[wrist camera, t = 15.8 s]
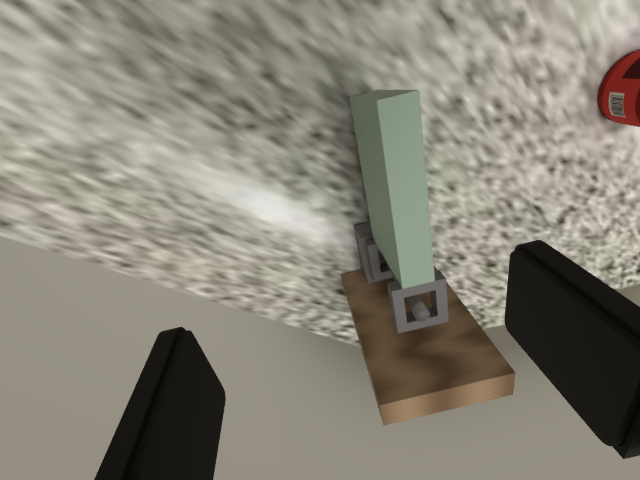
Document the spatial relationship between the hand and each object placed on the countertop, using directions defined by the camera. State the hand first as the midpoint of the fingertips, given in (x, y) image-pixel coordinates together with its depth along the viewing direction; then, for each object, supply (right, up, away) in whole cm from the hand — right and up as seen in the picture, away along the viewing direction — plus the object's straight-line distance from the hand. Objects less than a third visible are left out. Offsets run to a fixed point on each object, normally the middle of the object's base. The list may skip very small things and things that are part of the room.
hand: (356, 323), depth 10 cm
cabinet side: (+7, +1, +35) cm, 36 cm away
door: (+6, +8, +28) cm, 29 cm away
